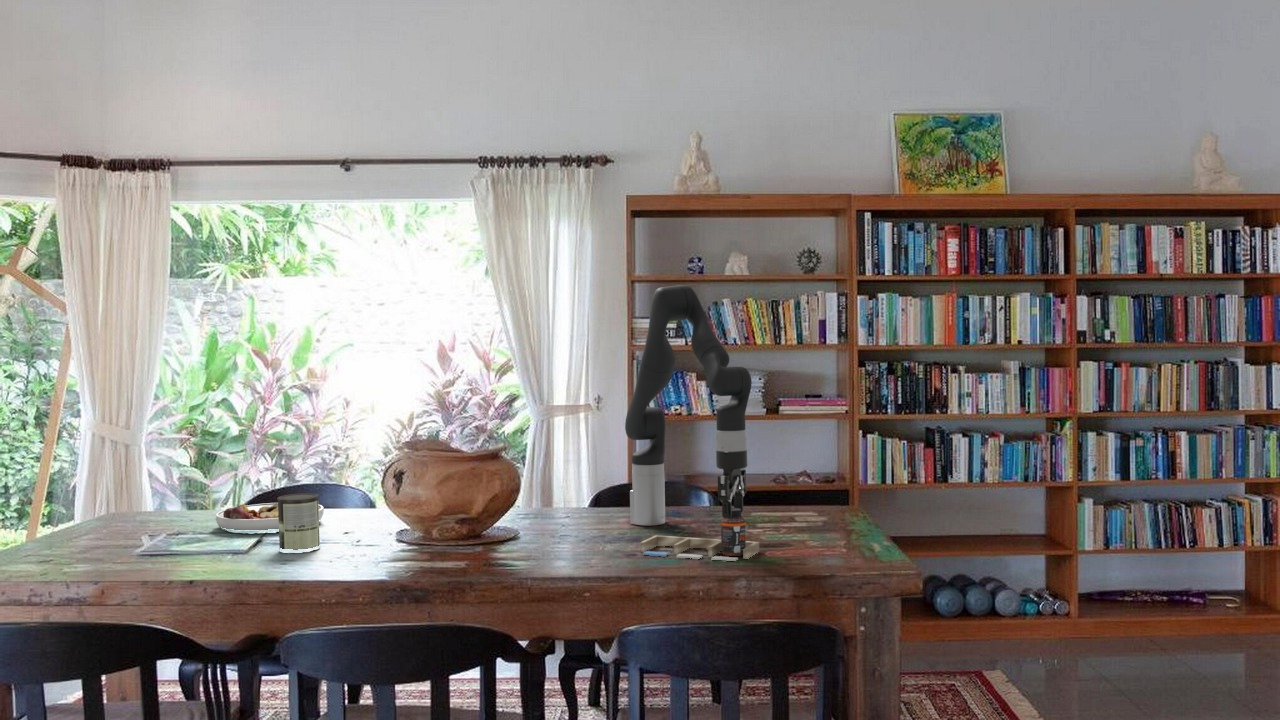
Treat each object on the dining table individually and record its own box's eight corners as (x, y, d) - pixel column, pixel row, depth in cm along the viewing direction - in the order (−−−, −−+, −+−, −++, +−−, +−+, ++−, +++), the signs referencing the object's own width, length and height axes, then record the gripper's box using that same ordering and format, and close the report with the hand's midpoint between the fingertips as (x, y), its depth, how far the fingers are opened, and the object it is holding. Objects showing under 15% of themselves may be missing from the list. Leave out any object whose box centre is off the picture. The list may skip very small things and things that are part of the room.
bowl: (270, 515, 339) (269, 490, 339) (345, 521, 326) (344, 495, 326) (193, 533, 312) (192, 505, 312) (271, 540, 299) (270, 511, 299)
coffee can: (270, 552, 281) (268, 497, 281) (301, 544, 290) (299, 492, 289) (298, 555, 276) (296, 500, 275) (328, 548, 285) (327, 494, 284)
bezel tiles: (642, 555, 267) (642, 552, 267) (646, 553, 269) (646, 551, 269) (734, 562, 257) (734, 559, 257) (738, 560, 260) (738, 557, 260)
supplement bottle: (744, 557, 262) (743, 511, 262) (719, 557, 263) (719, 510, 263) (747, 552, 268) (746, 507, 268) (723, 552, 269) (722, 506, 269)
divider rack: (640, 552, 271) (640, 542, 271) (655, 545, 280) (655, 535, 280) (747, 559, 259) (747, 549, 259) (759, 552, 268) (759, 542, 268)
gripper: (726, 445, 273) (728, 509, 273) (706, 451, 260) (708, 518, 260) (755, 445, 270) (756, 510, 270) (736, 452, 257) (737, 520, 257)
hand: (732, 514), depth 265 cm, fingers open, 8 cm apart
